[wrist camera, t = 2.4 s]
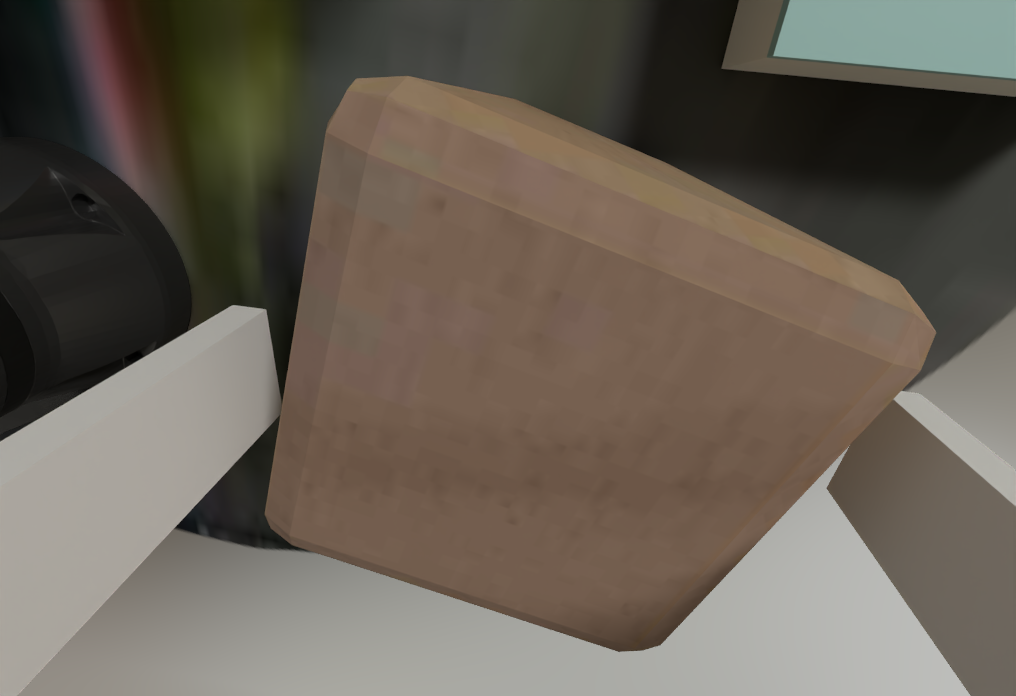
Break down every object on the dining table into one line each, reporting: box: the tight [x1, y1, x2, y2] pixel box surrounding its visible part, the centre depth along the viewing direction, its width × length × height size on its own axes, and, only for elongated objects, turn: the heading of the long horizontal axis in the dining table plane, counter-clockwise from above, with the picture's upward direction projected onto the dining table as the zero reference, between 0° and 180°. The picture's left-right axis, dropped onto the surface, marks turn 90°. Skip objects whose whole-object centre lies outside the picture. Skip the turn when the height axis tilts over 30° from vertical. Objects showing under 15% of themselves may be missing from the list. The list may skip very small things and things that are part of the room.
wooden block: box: [265, 76, 936, 652], centre depth 17 cm, size 10×10×20 cm
